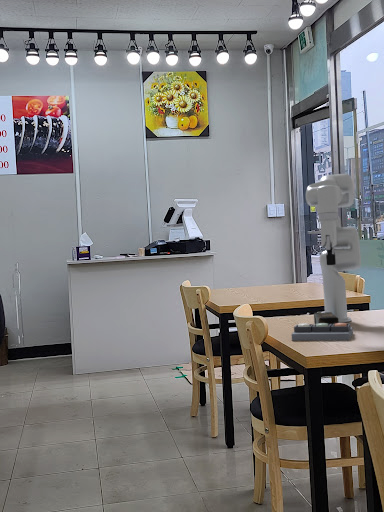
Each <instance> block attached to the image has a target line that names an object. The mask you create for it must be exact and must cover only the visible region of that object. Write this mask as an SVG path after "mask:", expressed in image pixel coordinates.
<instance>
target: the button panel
mask: <svg viewBox="0 0 384 512" xmlns="http://www.w3.org/2000/svg"><path fill="white" fill-rule="evenodd" d="M298 324H299V323H298ZM298 324H296V325H294V327H293V332H292V333H291V341H301V342H302V341H349V340H350V339H351V338H352V336H353V334H354V330H353V327H352V326H351V323H347V326H335V324H333V325H332V324H328V326H324V327H316V324H315V323H314V324H313V323H311V324H310V323H309V324H310V327H298Z"/></svg>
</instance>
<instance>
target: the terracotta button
mask: <svg viewBox="0 0 384 512" xmlns="http://www.w3.org/2000/svg"><path fill="white" fill-rule="evenodd" d="M347 324H348V322H344V323H336V324H335V326H347Z"/></svg>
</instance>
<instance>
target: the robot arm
mask: <svg viewBox="0 0 384 512" xmlns="http://www.w3.org/2000/svg"><path fill="white" fill-rule="evenodd" d="M318 180H319V181H317V182H315V183H314V182H313V183H311V184H309V185H308V186H307V187H306V191H305V202H306V204H307V205H308V206H309V207H315V210H316V213H317V215H318V216H317V217H318V223H320V237H321V238H320V240H321V241H320V245H321V247H322V248H325V250H324V251H322V252H321V253H320V255H319V264H320V270H321V276H322V286H323V287H322V288H323V303H324V304H323V305H324V312H332V313H333V314H334V315H335V316H336V317H337V318H338V321H339V323H349V322H352V318H351V317H350V316H348V309H347V308H348V307H347V304H348V303H347V294H346V293H347V290H346V287H347V286H346V280H345V278H344V277H343V276H342V275H341V274H340V273H339V272H342V271H343V272H346V271H356V270H359V269H360V268H361V266H362V257H361V246H360V235H359V231H358V229H357V228H356V227H354V226H342V224H341V223H342V221H341V217H340V216H339V208H348V207H351V206H352V205H353V204H354V201H355V194H354V191H355V189H354V182H353V181H354V180H353V178H352V176H351V175H350V174H348V173H337V174H327V175H323V176H322V177H321V178H320V179H318Z"/></svg>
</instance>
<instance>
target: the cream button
mask: <svg viewBox="0 0 384 512" xmlns="http://www.w3.org/2000/svg"><path fill="white" fill-rule="evenodd" d="M298 327H310V323H306V322H305V323H298Z"/></svg>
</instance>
